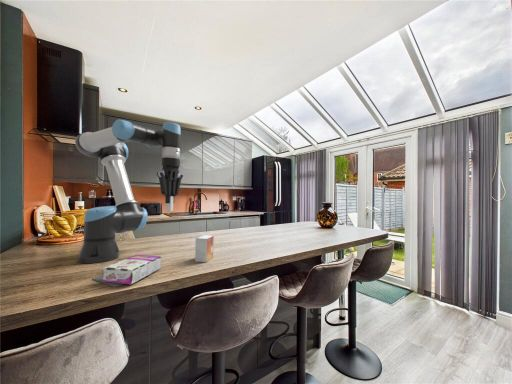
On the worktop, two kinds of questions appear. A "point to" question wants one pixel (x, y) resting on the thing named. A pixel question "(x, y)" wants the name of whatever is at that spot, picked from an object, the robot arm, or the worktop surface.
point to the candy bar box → (131, 269)
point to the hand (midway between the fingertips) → (169, 210)
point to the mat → (108, 282)
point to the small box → (204, 248)
